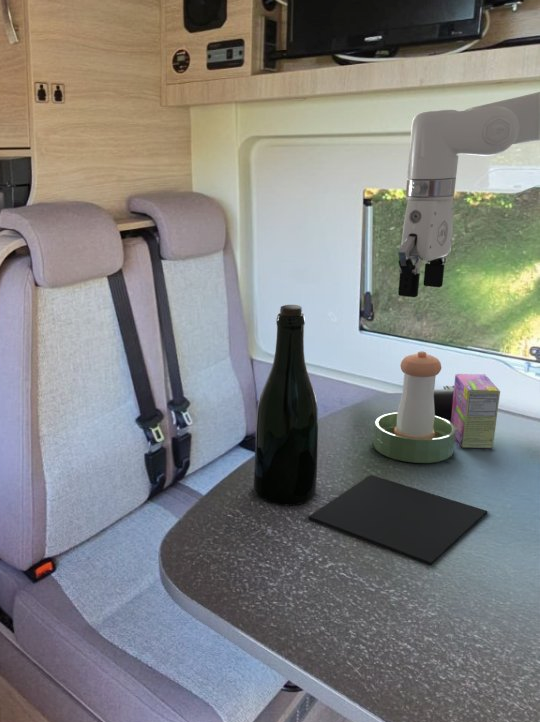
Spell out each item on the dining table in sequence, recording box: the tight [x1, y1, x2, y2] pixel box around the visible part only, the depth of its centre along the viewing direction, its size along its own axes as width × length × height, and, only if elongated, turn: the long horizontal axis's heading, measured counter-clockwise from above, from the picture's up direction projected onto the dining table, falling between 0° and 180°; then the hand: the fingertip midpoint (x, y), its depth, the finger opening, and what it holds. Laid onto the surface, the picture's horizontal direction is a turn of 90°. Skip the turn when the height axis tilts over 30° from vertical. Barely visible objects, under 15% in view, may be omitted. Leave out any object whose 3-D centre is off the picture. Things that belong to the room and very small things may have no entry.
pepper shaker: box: [394, 350, 442, 439], centre depth 135 cm, size 7×7×19 cm
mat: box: [308, 474, 488, 566], centre depth 115 cm, size 20×20×1 cm
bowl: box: [372, 411, 456, 464], centre depth 138 cm, size 14×14×5 cm
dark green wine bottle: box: [253, 304, 319, 506], centre depth 119 cm, size 10×10×33 cm
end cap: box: [434, 385, 454, 421], centre depth 151 cm, size 10×7×7 cm
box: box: [450, 373, 501, 449], centre depth 140 cm, size 10×6×12 cm, turn 168°
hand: (420, 291), depth 126 cm, fingers open, 9 cm apart
